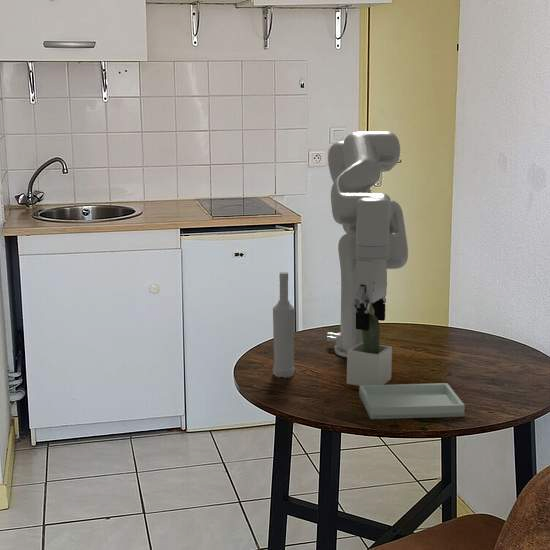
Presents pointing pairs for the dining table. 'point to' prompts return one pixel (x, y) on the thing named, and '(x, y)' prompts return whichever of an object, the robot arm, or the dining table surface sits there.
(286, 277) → the bottle
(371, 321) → the vegetable
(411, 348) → the dining table surface
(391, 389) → the tray
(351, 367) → the grey square open box
